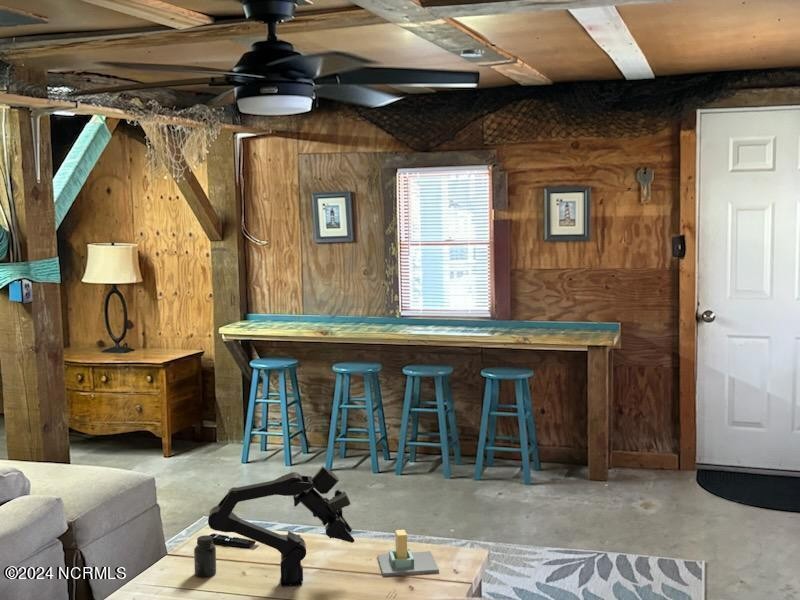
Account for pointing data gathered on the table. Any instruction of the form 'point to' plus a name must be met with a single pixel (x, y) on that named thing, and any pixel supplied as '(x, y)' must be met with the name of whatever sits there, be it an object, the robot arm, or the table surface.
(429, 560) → the plate
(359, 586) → the table surface
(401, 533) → the block
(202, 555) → the supplement bottle
